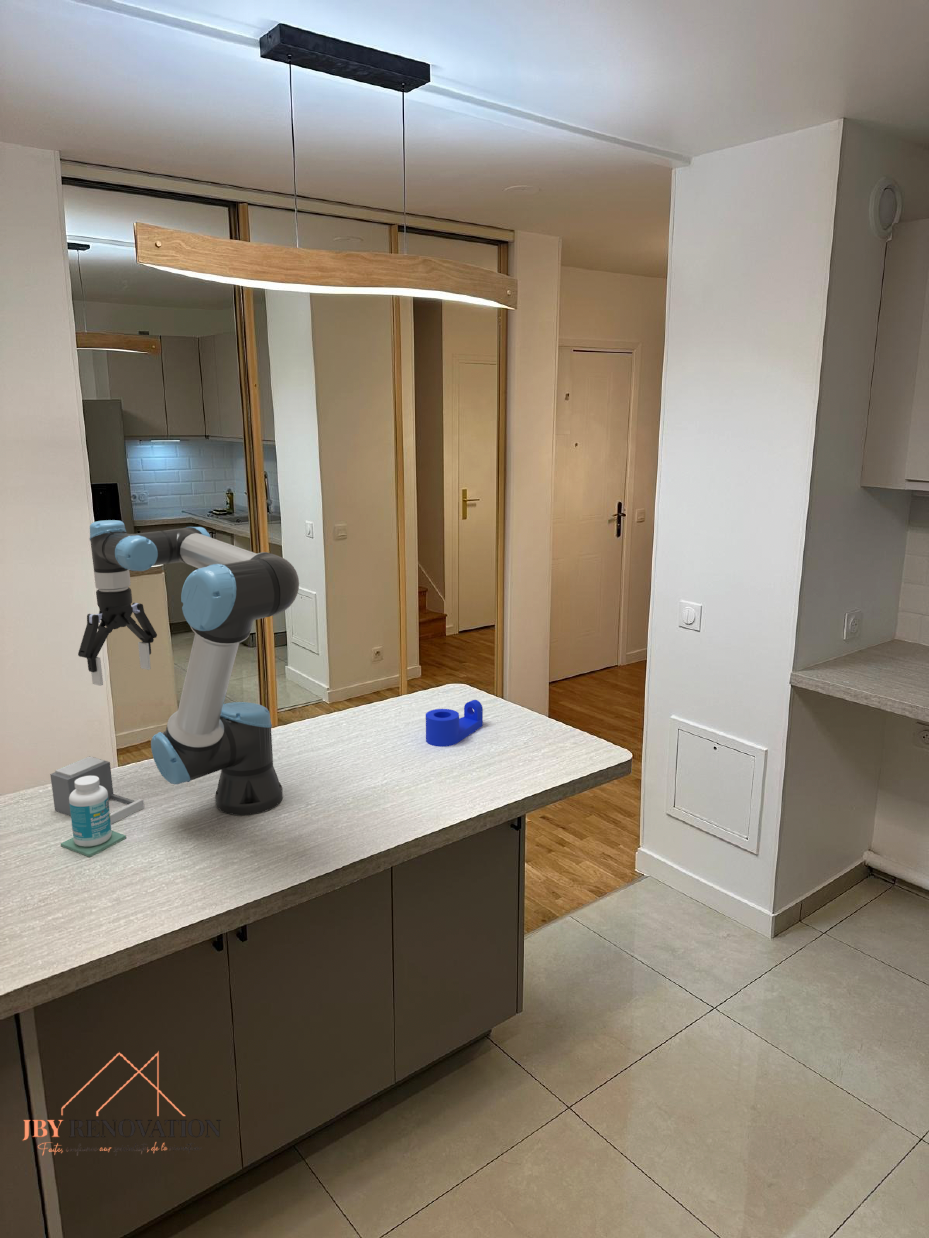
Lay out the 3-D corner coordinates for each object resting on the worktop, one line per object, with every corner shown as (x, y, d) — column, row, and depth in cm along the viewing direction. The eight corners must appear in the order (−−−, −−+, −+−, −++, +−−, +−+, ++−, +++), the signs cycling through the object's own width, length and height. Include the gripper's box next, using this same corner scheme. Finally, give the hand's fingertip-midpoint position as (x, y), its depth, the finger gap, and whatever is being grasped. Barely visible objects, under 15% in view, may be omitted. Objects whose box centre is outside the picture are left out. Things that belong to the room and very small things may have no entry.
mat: (126, 837, 181) (125, 835, 181) (89, 857, 173) (89, 854, 173) (97, 827, 185) (97, 825, 185) (60, 846, 177) (60, 843, 177)
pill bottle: (98, 850, 175) (91, 789, 171) (66, 846, 176) (58, 786, 173) (119, 832, 182) (113, 774, 178) (88, 829, 183) (81, 770, 180)
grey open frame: (144, 807, 194) (140, 768, 192) (103, 828, 185) (98, 787, 182) (96, 792, 202) (92, 754, 199) (55, 810, 192) (49, 771, 190)
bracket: (444, 750, 227) (444, 723, 225) (419, 741, 233) (418, 715, 231) (488, 728, 242) (489, 703, 240) (463, 721, 247) (463, 696, 245)
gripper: (145, 577, 208) (153, 660, 213) (54, 597, 187) (65, 688, 192) (167, 580, 205) (174, 664, 210) (76, 600, 184) (87, 694, 189)
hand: (122, 676), depth 201 cm, fingers open, 13 cm apart
